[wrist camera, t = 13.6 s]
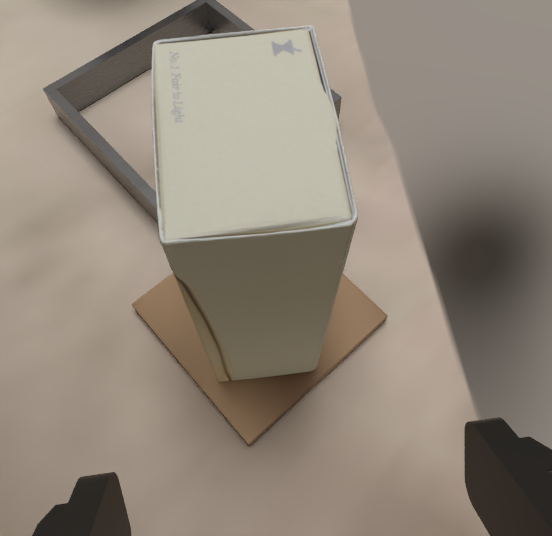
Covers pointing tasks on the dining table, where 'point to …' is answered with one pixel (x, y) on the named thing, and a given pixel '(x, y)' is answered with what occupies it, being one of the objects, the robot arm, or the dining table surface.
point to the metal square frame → (125, 66)
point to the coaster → (268, 390)
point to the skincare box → (252, 194)
